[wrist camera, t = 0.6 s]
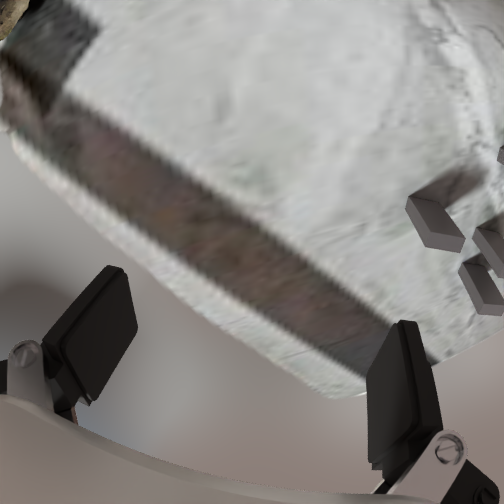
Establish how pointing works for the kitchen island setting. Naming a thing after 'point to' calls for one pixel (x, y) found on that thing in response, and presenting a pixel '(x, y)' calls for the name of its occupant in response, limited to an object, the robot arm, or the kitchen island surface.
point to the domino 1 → (434, 225)
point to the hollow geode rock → (10, 15)
